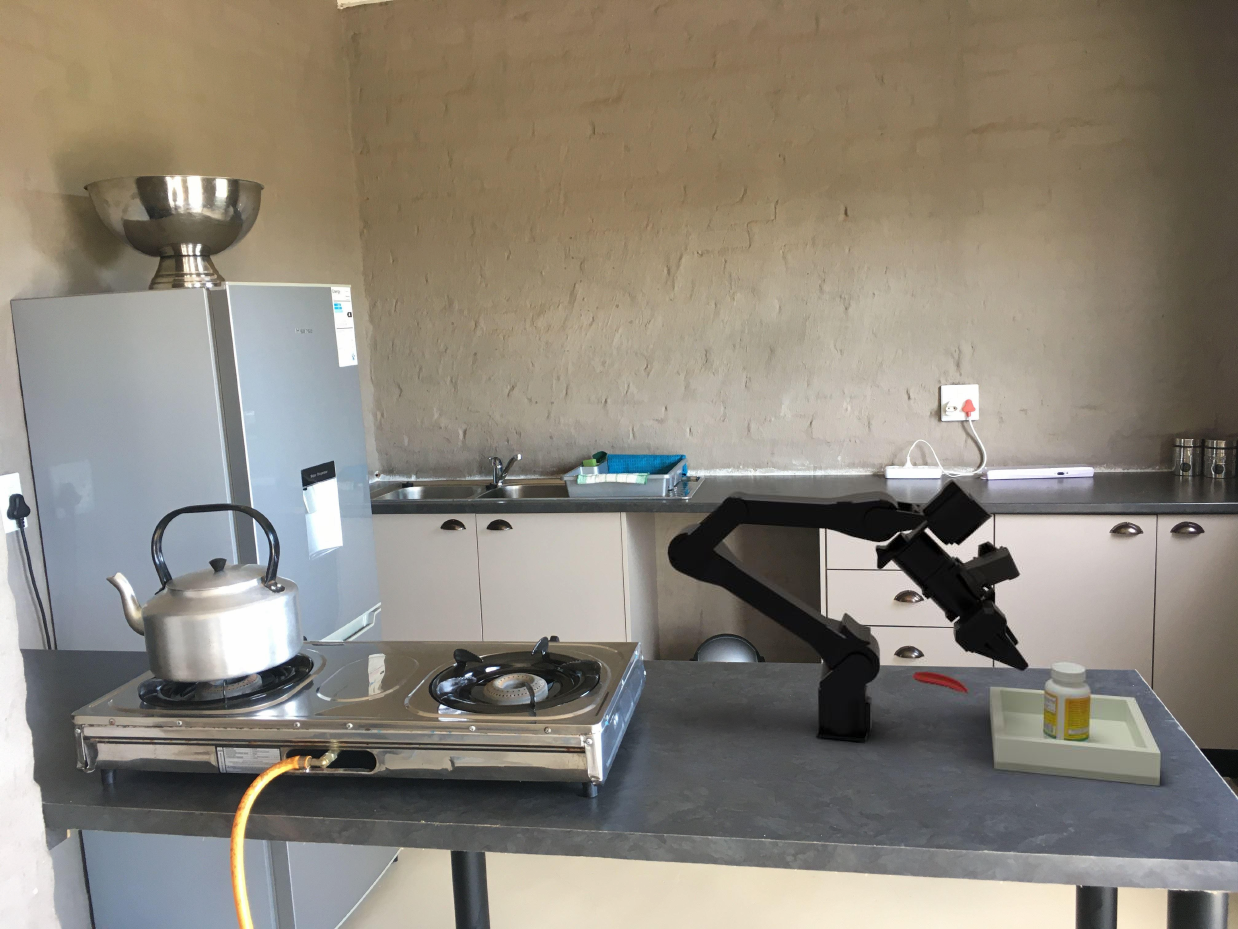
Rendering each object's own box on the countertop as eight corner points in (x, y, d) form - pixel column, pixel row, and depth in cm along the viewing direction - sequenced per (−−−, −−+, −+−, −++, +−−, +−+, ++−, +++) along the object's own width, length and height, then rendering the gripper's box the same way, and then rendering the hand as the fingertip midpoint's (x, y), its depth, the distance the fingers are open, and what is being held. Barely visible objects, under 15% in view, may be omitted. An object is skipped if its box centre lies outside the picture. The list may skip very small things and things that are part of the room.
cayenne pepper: (902, 675, 155) (902, 663, 155) (927, 671, 156) (927, 660, 156) (950, 701, 143) (950, 688, 143) (976, 697, 145) (977, 684, 145)
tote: (994, 768, 120) (995, 737, 120) (989, 713, 137) (990, 686, 137) (1159, 786, 115) (1160, 753, 114) (1133, 726, 131) (1134, 697, 131)
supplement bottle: (1037, 741, 126) (1039, 669, 124) (1050, 727, 130) (1052, 657, 128) (1082, 751, 122) (1084, 677, 121) (1094, 737, 126) (1096, 665, 125)
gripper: (987, 543, 116) (1085, 638, 115) (973, 513, 134) (1057, 595, 133) (916, 604, 119) (1011, 698, 118) (912, 567, 137) (994, 648, 136)
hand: (1020, 656), depth 126 cm, fingers open, 9 cm apart
